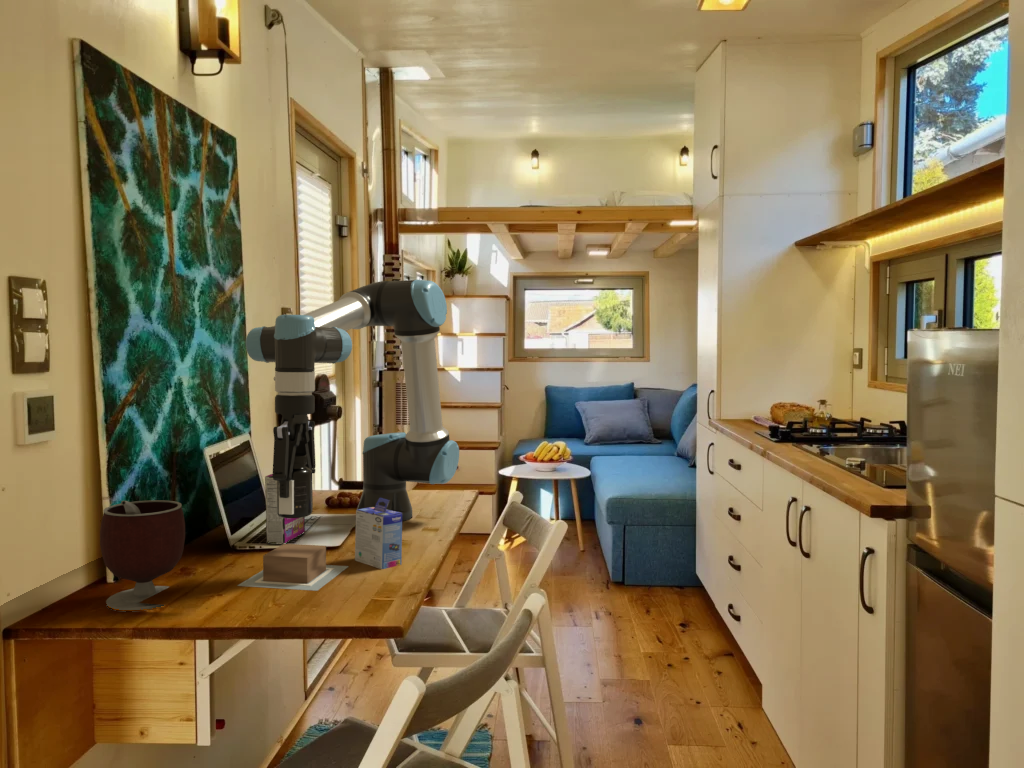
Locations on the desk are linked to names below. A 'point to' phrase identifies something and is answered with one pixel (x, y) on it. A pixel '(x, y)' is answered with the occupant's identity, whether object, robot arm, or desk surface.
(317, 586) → the grey square plate
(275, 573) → the walnut block
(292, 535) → the candy bar box
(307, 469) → the supplement bottle
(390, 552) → the ink cartridge box
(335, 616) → the desk surface
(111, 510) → the mate gourd
